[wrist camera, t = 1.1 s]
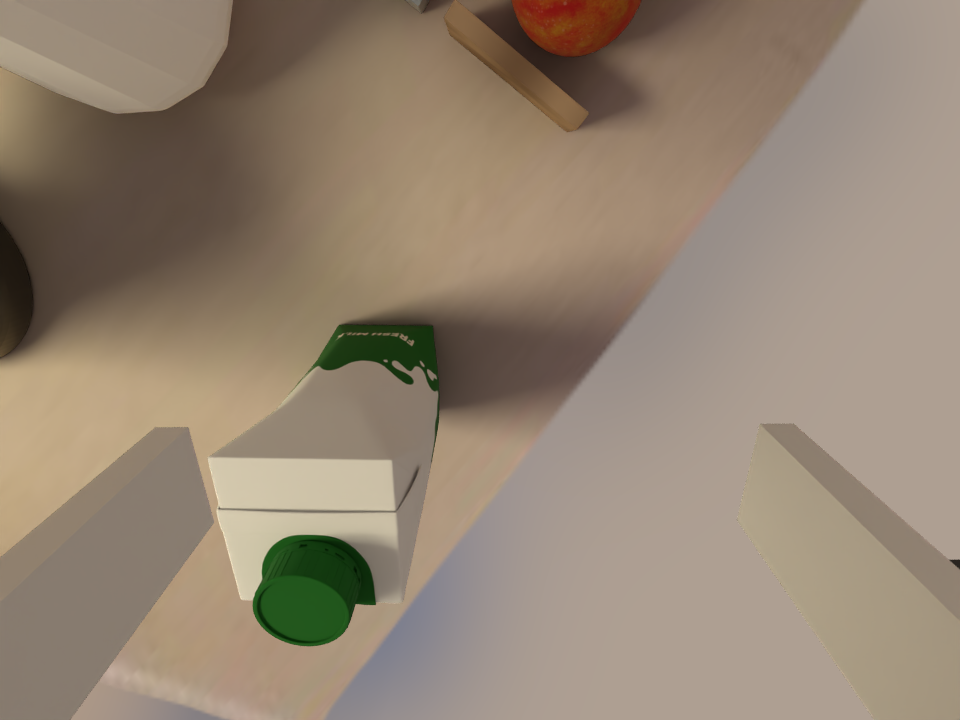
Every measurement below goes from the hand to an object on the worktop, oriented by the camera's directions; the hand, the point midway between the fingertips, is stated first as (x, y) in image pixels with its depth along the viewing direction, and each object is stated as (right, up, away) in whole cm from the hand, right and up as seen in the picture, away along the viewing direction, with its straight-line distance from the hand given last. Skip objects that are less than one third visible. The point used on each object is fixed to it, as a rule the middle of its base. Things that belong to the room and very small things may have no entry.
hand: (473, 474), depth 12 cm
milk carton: (-7, +2, +26) cm, 27 cm away
